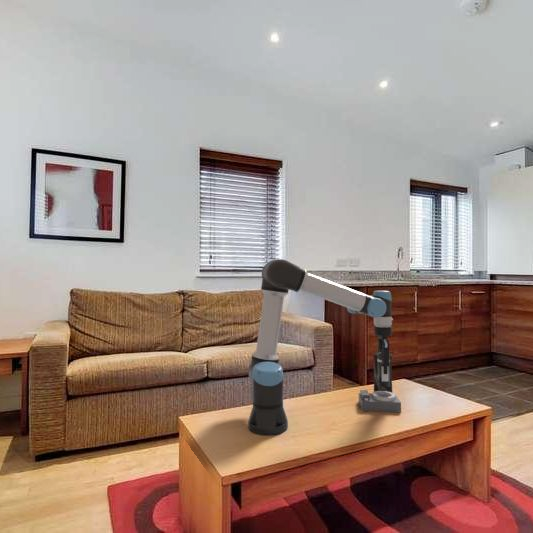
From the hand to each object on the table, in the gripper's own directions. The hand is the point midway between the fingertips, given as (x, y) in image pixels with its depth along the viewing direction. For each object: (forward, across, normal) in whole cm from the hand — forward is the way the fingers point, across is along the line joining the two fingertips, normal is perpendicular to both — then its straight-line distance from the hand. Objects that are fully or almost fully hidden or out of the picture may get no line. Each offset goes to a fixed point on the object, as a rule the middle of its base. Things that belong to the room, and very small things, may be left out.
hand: (383, 379), depth 164 cm
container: (+12, +17, -3) cm, 21 cm away
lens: (+3, 0, 0) cm, 3 cm away
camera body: (+12, 0, +2) cm, 12 cm away
